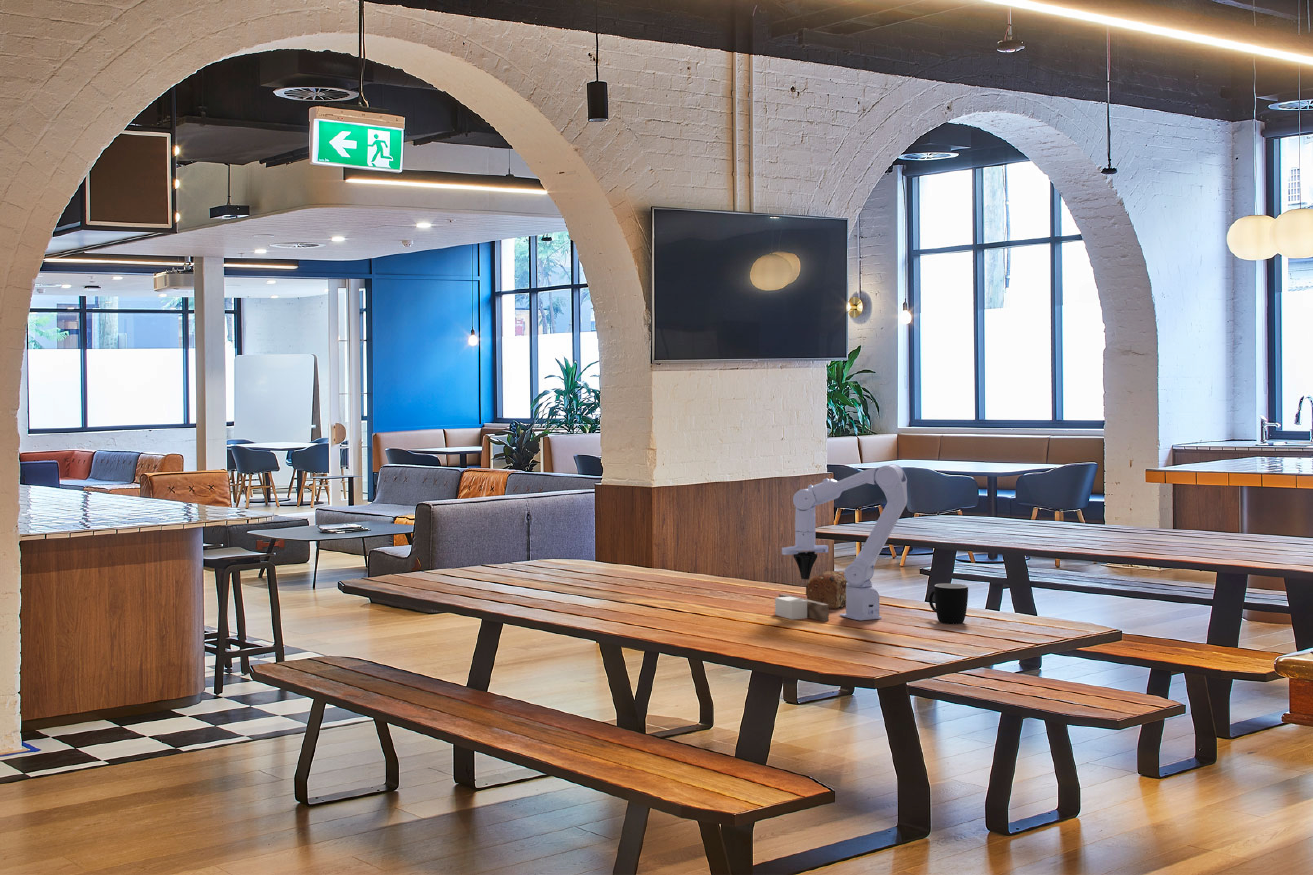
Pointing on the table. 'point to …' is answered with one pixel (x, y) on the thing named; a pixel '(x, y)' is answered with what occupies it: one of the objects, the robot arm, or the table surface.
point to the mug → (950, 602)
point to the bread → (828, 589)
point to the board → (814, 609)
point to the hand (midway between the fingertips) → (805, 578)
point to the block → (791, 607)
